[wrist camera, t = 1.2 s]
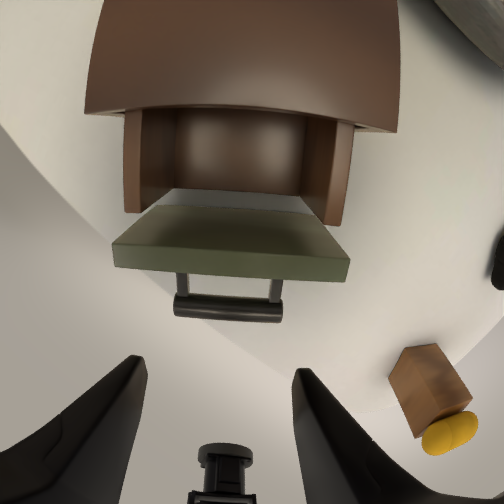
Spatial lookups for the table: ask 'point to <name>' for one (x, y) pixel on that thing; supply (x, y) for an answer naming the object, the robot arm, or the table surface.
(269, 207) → the table surface
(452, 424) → the yellow capsule toy
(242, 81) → the cabinet
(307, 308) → the table surface
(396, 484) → the robot arm
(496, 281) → the tape measure
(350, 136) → the drawer
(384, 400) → the table surface
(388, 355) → the table surface
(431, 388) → the stand
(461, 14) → the bowl
